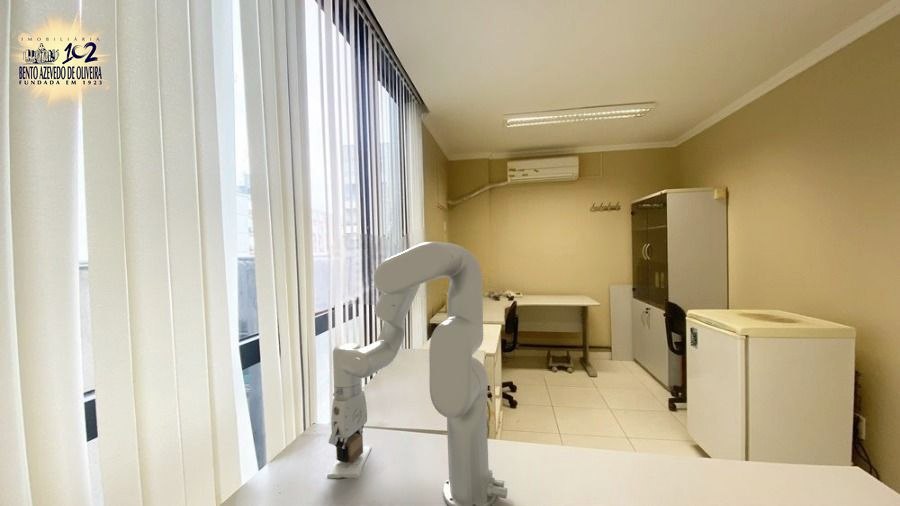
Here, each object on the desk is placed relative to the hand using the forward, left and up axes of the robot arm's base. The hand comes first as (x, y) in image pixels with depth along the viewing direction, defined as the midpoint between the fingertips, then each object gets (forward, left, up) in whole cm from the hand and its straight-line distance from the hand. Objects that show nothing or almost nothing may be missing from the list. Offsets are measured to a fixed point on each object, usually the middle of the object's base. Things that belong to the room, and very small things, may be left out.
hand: (350, 454), depth 88 cm
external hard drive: (0, 0, -3) cm, 3 cm away
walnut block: (0, 0, -1) cm, 1 cm away
